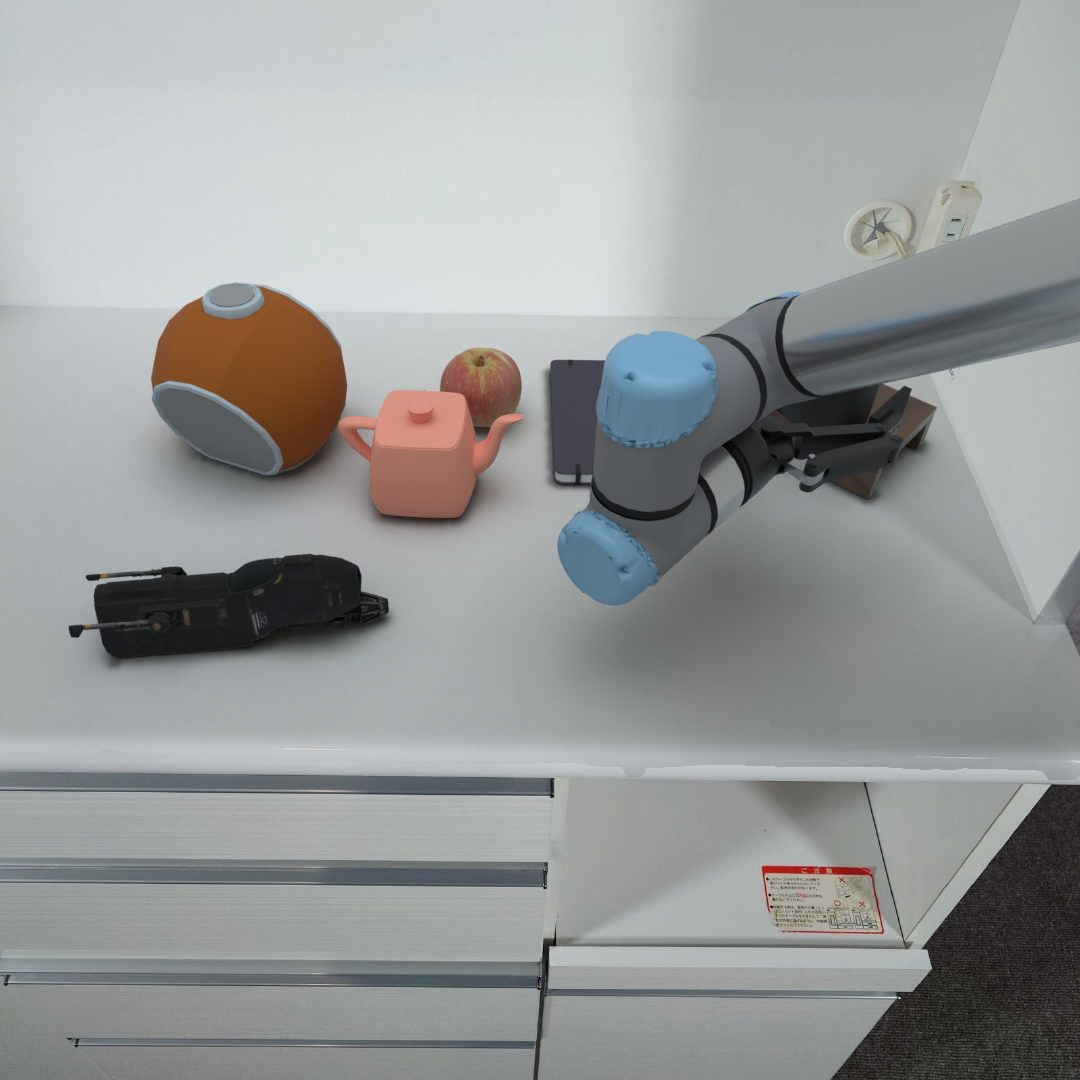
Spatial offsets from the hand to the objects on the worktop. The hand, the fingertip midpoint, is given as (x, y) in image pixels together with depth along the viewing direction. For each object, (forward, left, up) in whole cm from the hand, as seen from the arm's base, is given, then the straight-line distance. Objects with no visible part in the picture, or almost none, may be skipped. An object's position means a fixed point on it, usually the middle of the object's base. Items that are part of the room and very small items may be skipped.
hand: (837, 370), depth 87 cm
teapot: (+27, +27, -14) cm, 41 cm away
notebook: (+21, +6, -14) cm, 26 cm away
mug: (+2, -7, -9) cm, 12 cm away
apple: (+32, +15, -14) cm, 38 cm away
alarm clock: (+46, +34, -14) cm, 59 cm away
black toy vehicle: (+26, +51, -14) cm, 59 cm away
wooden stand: (+1, -9, -14) cm, 16 cm away
